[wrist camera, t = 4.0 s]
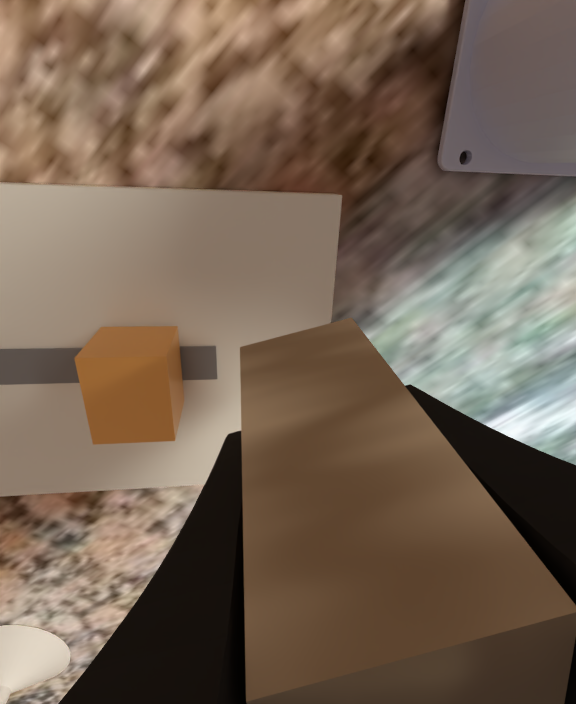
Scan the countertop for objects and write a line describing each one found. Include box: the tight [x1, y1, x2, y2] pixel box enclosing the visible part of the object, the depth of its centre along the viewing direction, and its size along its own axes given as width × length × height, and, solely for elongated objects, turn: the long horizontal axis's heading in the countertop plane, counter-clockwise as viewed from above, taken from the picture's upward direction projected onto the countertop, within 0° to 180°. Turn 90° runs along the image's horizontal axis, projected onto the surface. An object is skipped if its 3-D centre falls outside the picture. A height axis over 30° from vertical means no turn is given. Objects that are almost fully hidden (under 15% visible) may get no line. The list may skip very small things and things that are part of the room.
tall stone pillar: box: [240, 318, 576, 704], centre depth 8 cm, size 3×3×8 cm
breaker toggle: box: [74, 326, 184, 445], centre depth 15 cm, size 3×4×3 cm
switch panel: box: [0, 182, 342, 497], centre depth 17 cm, size 20×14×1 cm
